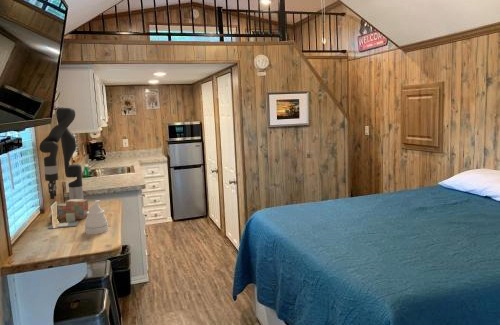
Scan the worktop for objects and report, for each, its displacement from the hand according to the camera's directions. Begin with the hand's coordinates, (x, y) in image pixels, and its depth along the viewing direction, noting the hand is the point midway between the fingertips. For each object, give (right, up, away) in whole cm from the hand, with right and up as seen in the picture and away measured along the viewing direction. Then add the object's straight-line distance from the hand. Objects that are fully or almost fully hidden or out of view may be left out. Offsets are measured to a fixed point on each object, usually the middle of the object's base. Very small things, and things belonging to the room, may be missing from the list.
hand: (53, 197), depth 252 cm
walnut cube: (0, -17, +2) cm, 17 cm away
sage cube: (+9, -16, +6) cm, 19 cm away
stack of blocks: (+5, -15, +14) cm, 21 cm away
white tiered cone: (+35, -19, -17) cm, 43 cm away
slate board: (+9, -17, -4) cm, 20 cm away
